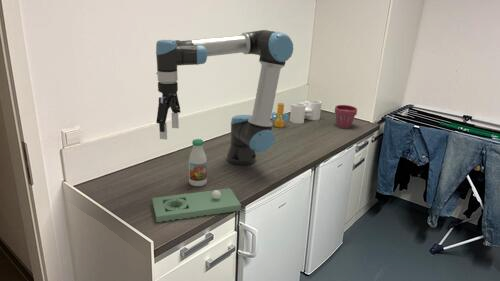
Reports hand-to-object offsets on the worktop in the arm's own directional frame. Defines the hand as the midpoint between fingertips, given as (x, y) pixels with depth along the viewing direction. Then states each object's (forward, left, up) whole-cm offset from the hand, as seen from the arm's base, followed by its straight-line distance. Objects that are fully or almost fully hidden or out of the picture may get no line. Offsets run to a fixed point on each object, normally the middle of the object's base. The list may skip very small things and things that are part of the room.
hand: (169, 133), depth 154 cm
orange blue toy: (-80, -66, -25) cm, 107 cm away
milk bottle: (-12, -1, -25) cm, 28 cm away
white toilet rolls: (-104, -75, -25) cm, 131 cm away
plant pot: (-123, -57, -25) cm, 138 cm away
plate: (-7, +19, -25) cm, 32 cm away
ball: (-15, +19, -20) cm, 31 cm away
